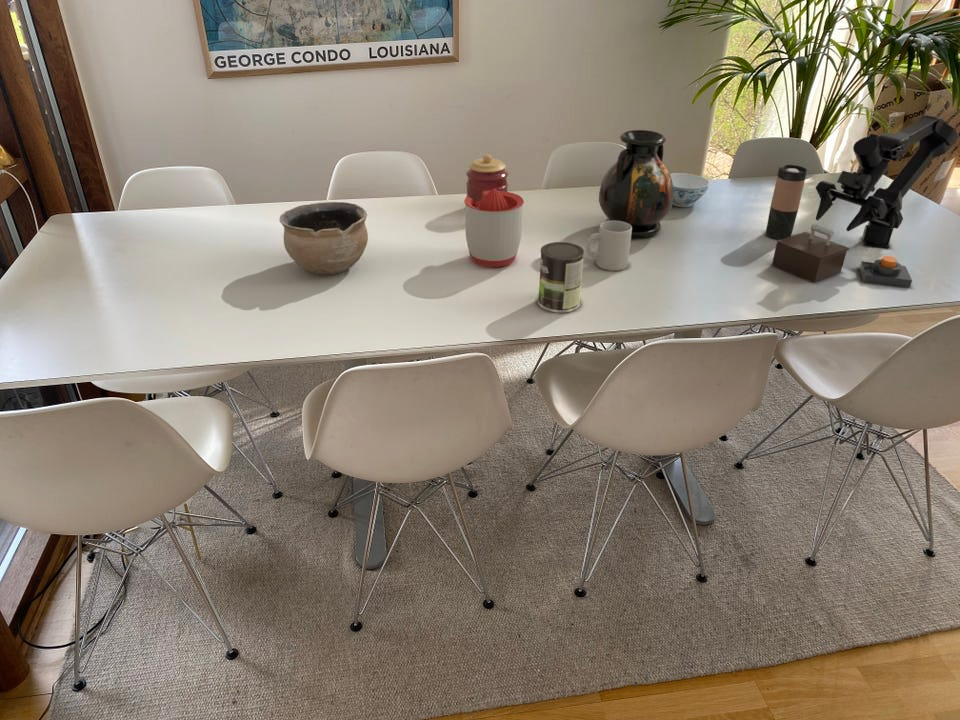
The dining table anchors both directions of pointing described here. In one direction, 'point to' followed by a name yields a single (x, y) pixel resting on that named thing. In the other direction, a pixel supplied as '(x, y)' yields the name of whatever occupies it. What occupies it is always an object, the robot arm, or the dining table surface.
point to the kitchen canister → (485, 177)
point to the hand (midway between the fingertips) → (831, 224)
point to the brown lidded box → (807, 264)
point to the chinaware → (688, 188)
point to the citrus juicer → (494, 227)
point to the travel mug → (785, 201)
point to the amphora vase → (638, 184)
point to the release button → (888, 261)
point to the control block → (885, 274)
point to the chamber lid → (814, 243)
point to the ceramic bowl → (325, 236)
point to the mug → (612, 245)
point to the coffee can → (560, 277)
